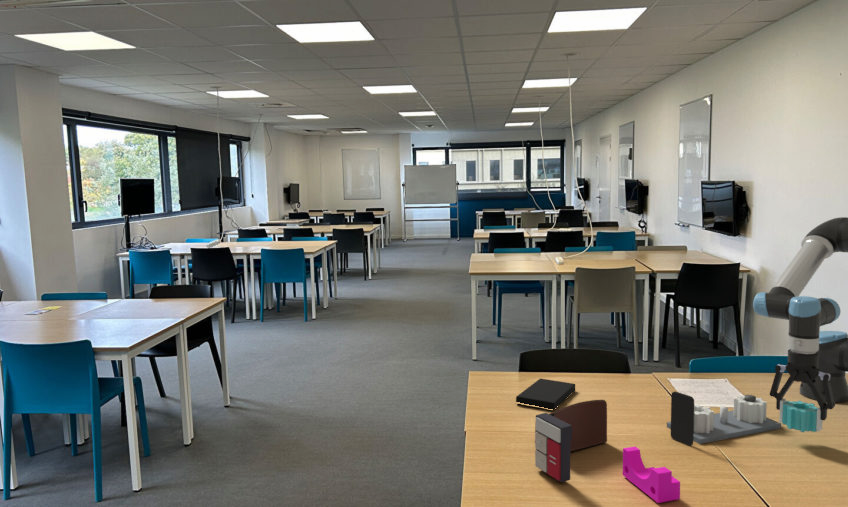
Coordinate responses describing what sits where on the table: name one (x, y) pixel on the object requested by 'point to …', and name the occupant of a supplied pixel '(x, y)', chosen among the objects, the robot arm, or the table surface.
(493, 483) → the table surface
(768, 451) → the table surface
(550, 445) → the calculator
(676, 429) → the phone
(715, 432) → the gear board
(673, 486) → the magenta mounting bracket
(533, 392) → the black book
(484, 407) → the table surface
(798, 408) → the teal gear
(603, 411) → the letter holder
